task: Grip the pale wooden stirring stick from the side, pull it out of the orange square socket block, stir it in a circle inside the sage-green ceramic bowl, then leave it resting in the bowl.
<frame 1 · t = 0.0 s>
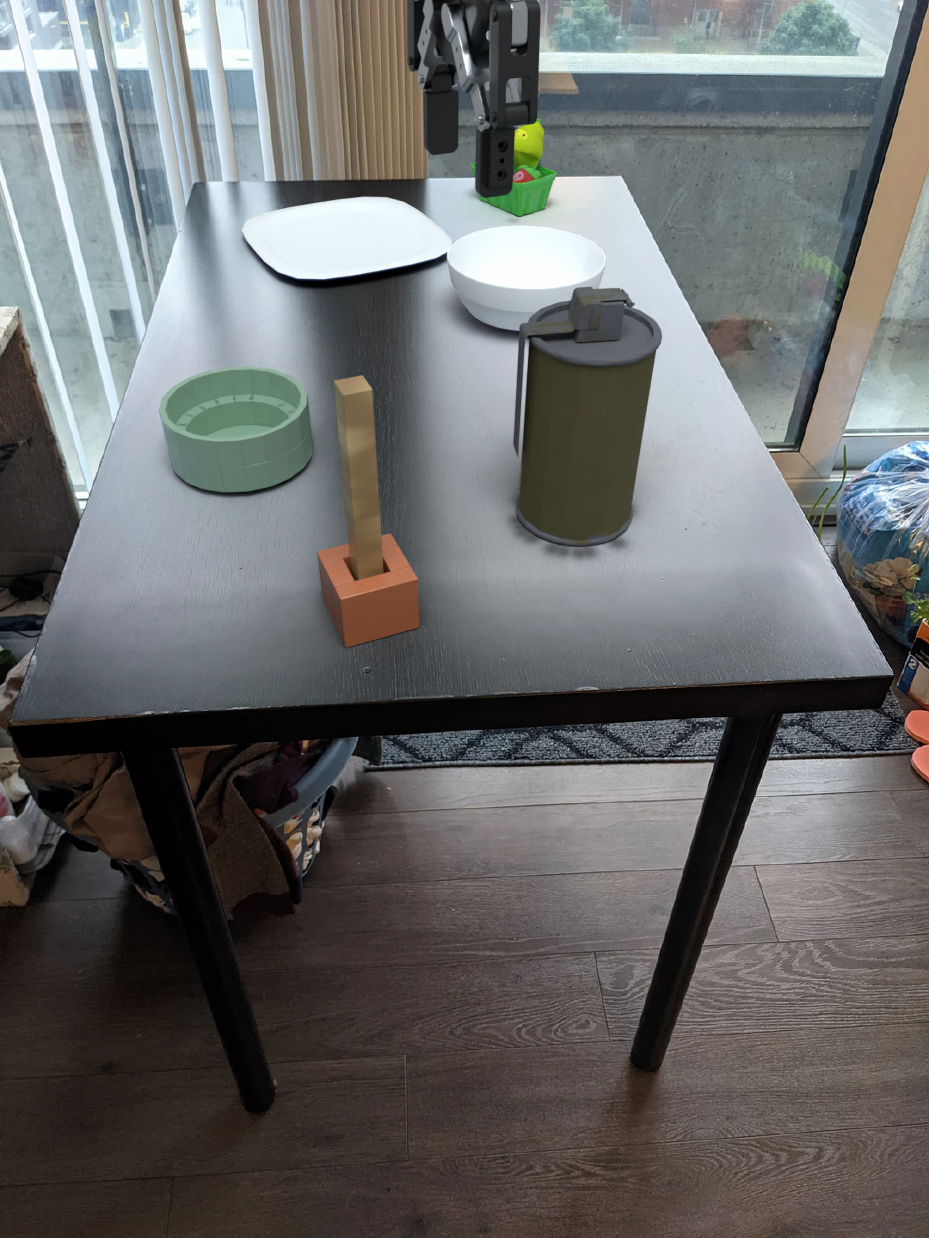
hand: (466, 173, 61), 30 cm above the table, tool pointing down, fingers open, 8 cm apart
mixing bowl: (243, 457, 91), on the table
canister: (571, 512, 85), on the table
stirring stick: (362, 510, 68), in the orange square socket block
bowl: (522, 317, 114), on the table
plate: (346, 247, 129), on the table
fruit basket: (514, 205, 141), on the table
orange square socket block: (370, 613, 75), on the table
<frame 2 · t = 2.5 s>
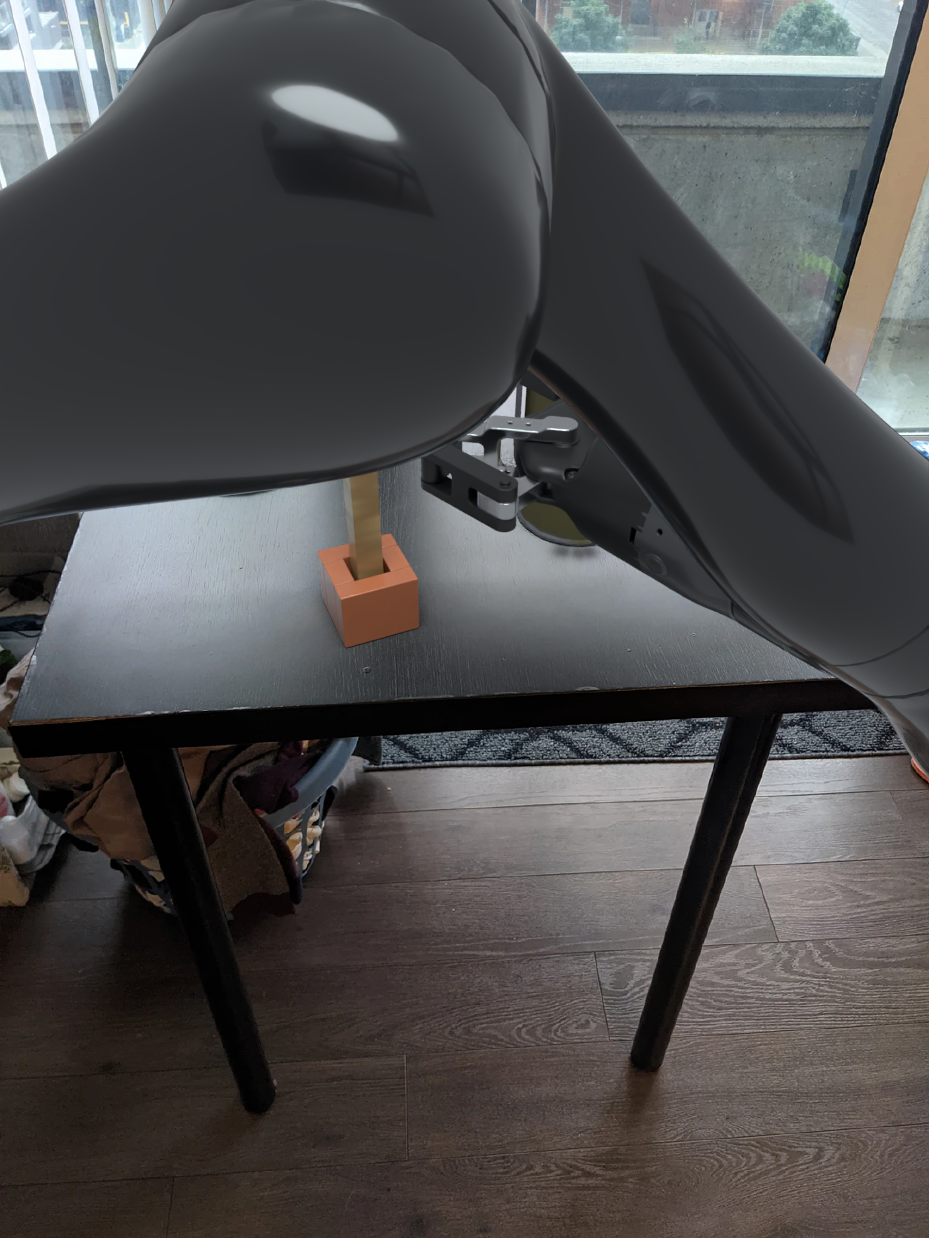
hand: (458, 384, 53), 24 cm above the table, tool horizontal, fingers open, 8 cm apart
nothing on the table moved.
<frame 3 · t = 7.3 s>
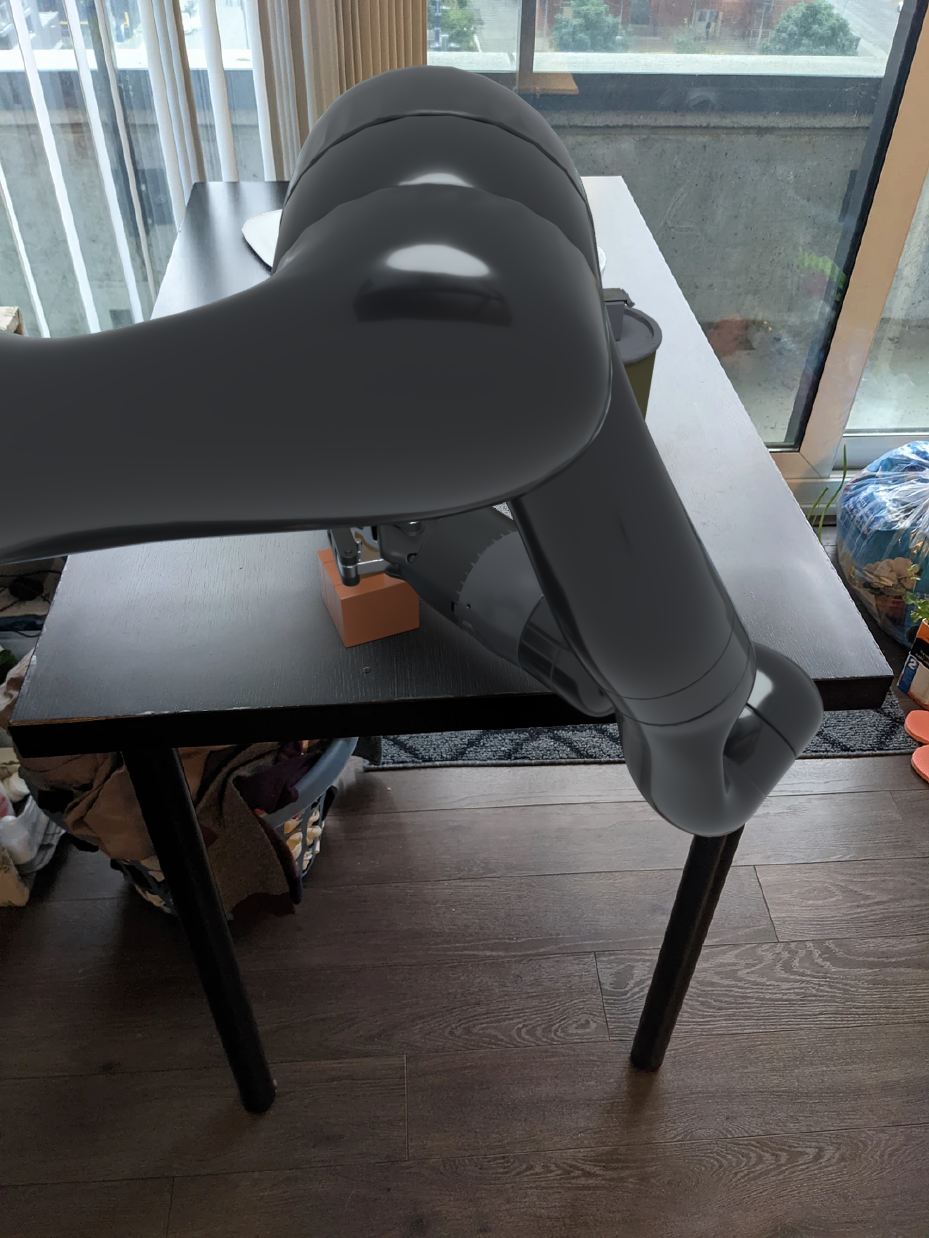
hand: (335, 470, 68), 12 cm above the table, tool horizontal, fingers closed on stirring stick, 2 cm apart
stirring stick: (362, 510, 68), in the orange square socket block, touching gripper
everything else where it was.
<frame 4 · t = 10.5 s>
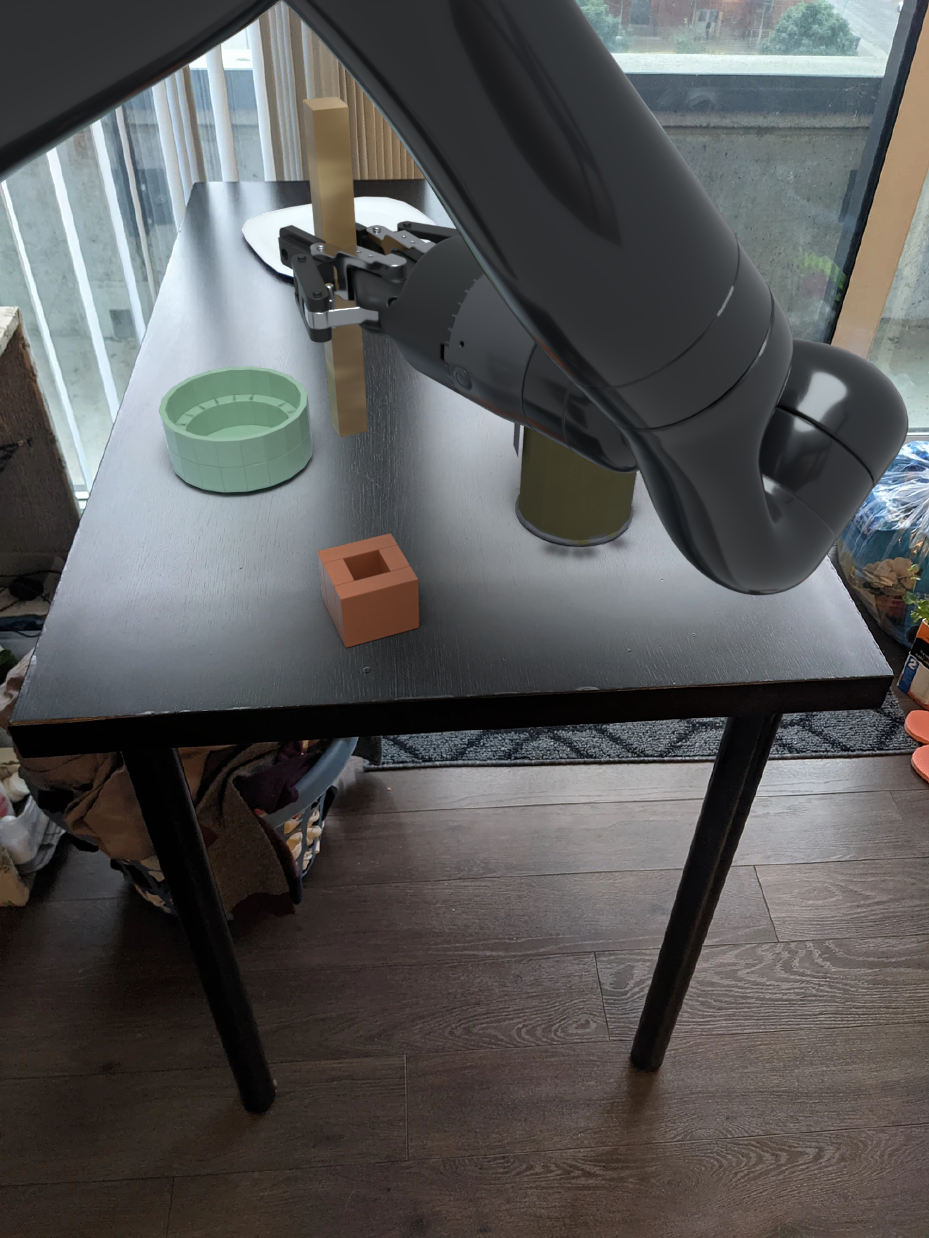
hand: (306, 237, 58), 28 cm above the table, tool horizontal, fingers closed on stirring stick, 2 cm apart
stirring stick: (338, 284, 58), point 26 cm above the table, touching gripper
everything else where it was.
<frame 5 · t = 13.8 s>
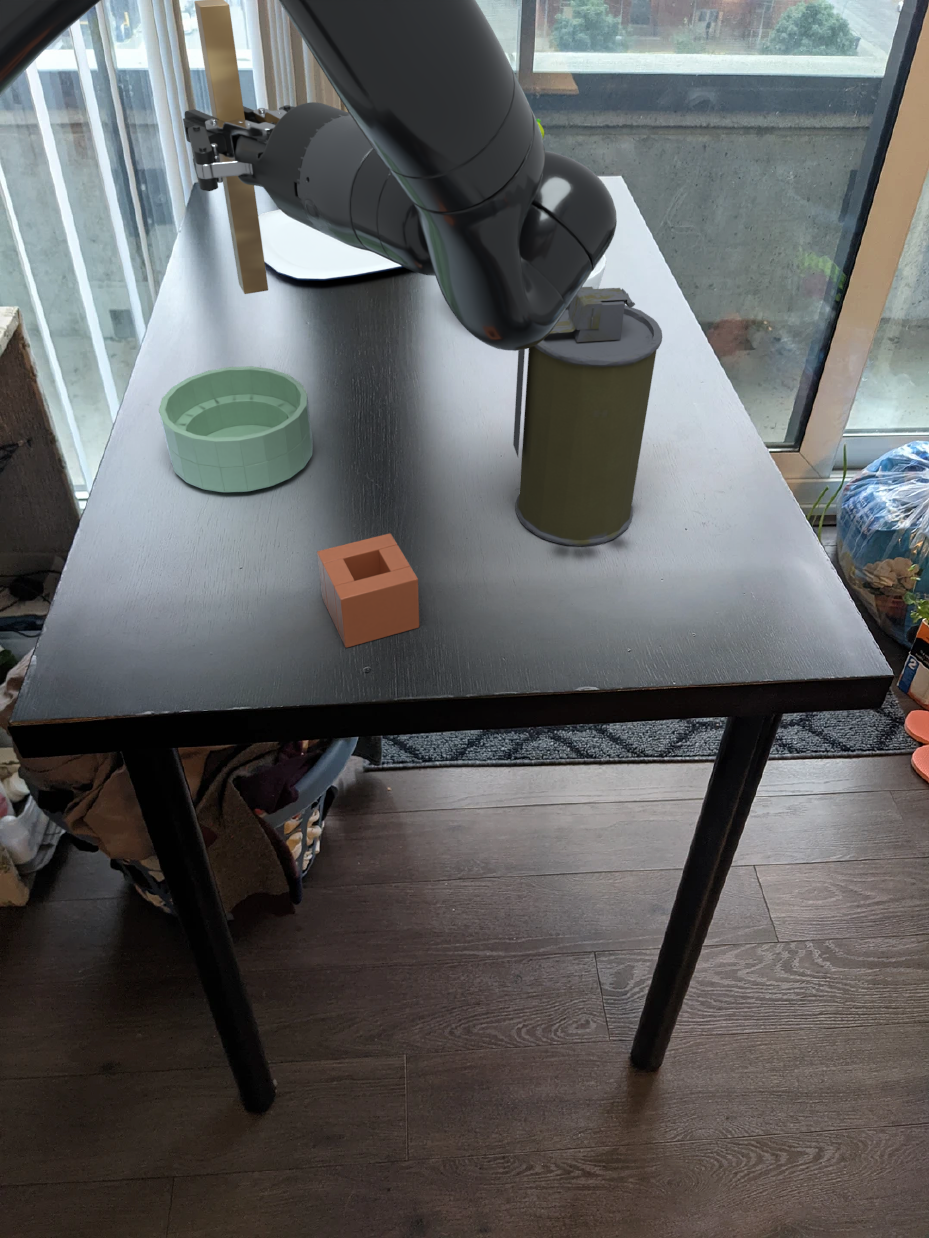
hand: (208, 121, 71), 29 cm above the table, tool horizontal, fingers closed on stirring stick, 2 cm apart
stirring stick: (234, 159, 71), point 27 cm above the table, touching gripper
everything else where it was.
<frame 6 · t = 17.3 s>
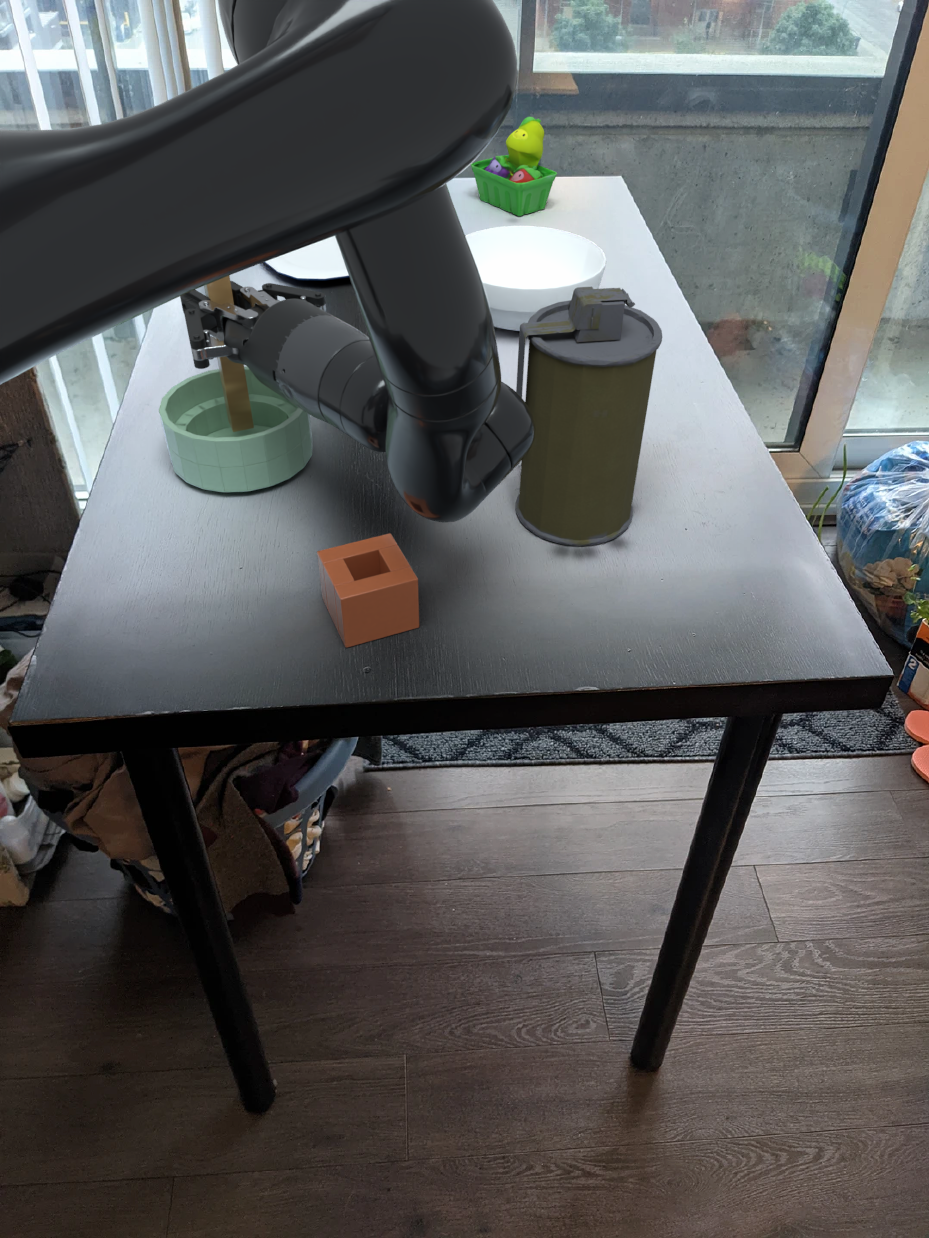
hand: (202, 293, 84), 14 cm above the table, tool horizontal, fingers closed on stirring stick, 2 cm apart
stirring stick: (224, 326, 83), point 12 cm above the table, touching gripper
everything else where it was.
when the fingers open (13 cm above the table, at t = 20.2 s): stirring stick stays where it is, resting on mixing bowl.
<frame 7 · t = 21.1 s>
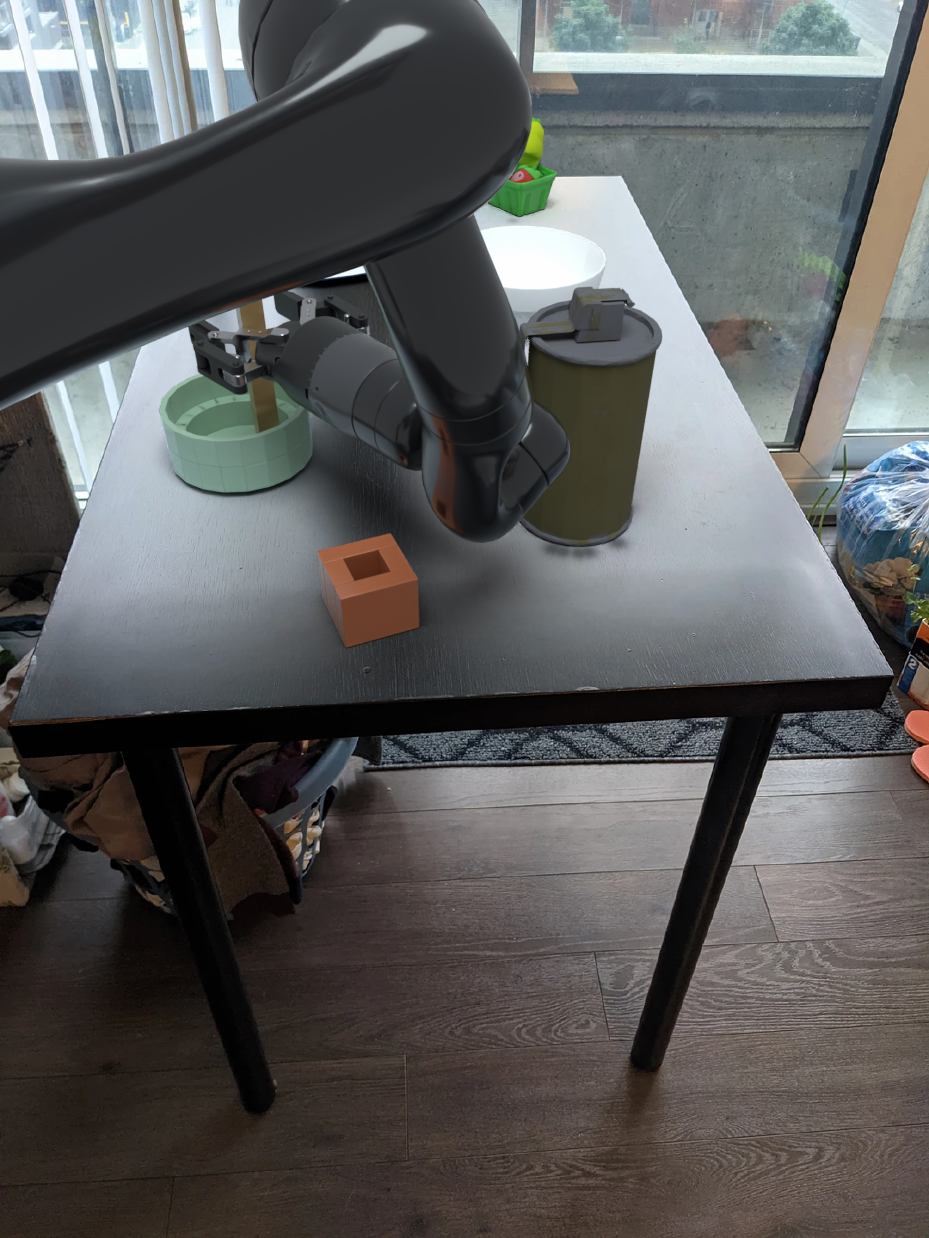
hand: (236, 313, 83), 13 cm above the table, tool horizontal, fingers open, 8 cm apart
stirring stick: (255, 349, 84), in the mixing bowl, point 11 cm above the table
everything else where it was.
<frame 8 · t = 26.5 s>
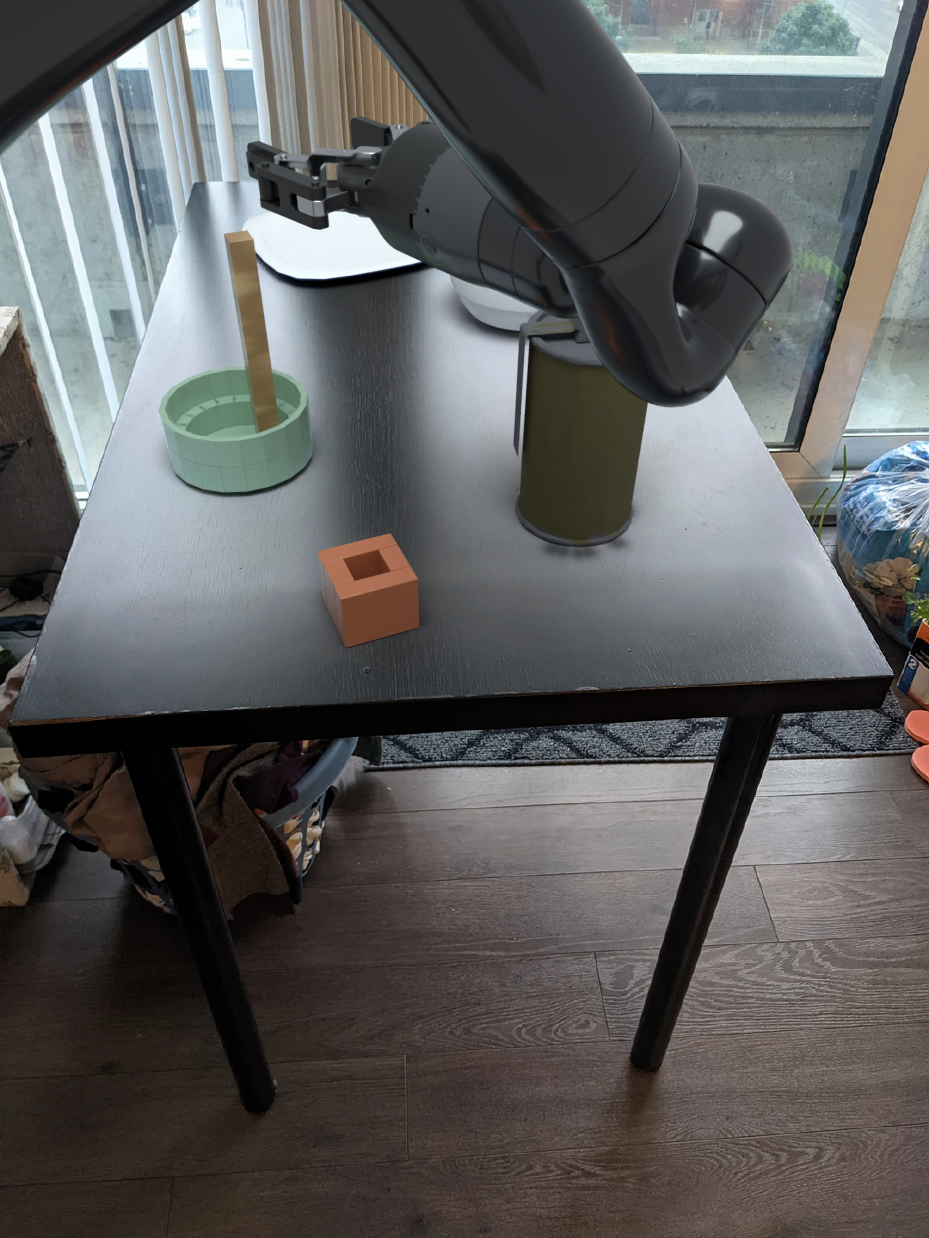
hand: (305, 145, 65), 30 cm above the table, tool horizontal, fingers open, 8 cm apart
nothing on the table moved.
at the end: stirring stick inside the target area in the mixing bowl (2.7 cm from its centre), point 10.6 cm above the mixing bowl's base; the gripper is holding nothing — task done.
